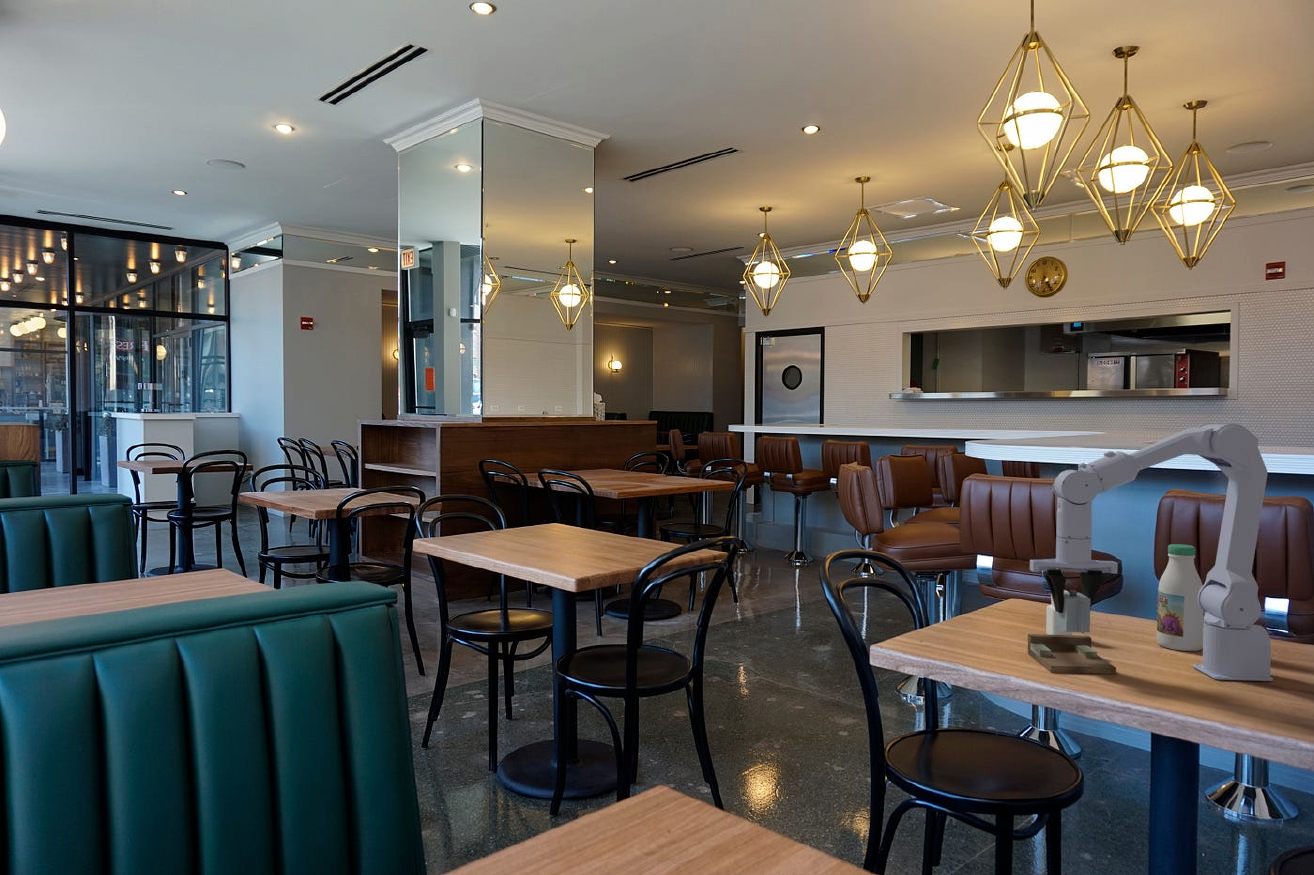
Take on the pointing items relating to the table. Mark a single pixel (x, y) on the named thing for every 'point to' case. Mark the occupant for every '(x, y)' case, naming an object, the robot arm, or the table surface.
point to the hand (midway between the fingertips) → (1072, 612)
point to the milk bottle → (1180, 602)
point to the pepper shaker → (1053, 621)
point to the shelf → (1067, 654)
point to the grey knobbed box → (1074, 613)
